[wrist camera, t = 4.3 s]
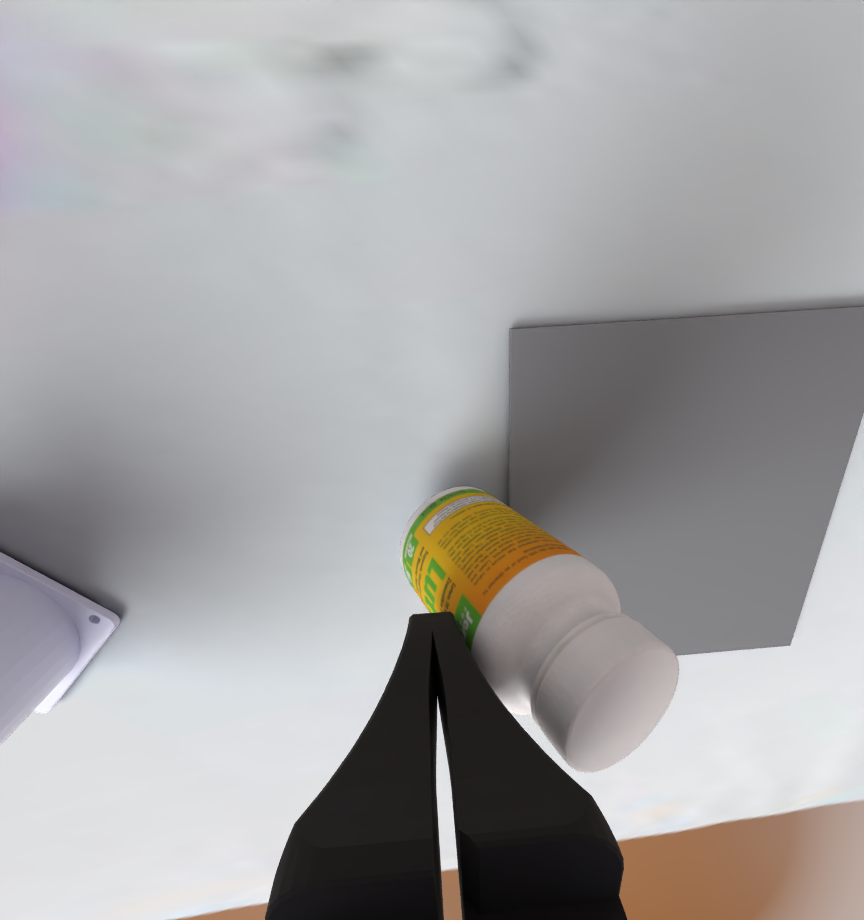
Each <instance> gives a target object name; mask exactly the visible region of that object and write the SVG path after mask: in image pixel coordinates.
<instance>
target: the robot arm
mask: <svg viewBox="0 0 864 920" xmlns="http://www.w3.org/2000/svg"><path fill="white" fill-rule="evenodd" d="M97 616H98V617H97ZM119 623H120V619H119V617H118V616H117V615H116V614H115V613H113V612H111V611H109V610H108V609H106V608H104V607H102V606H100V605H98V604H96V603H95V602H93V601H91V600H89V599H87V598H85V597H83V596H82V595H80V594H78V593H76V592H74V591H72V590H70V589H68V588H67V587H65V586H63V585H61V584H59V583H57V582H55V581H54V580H52V579H50V578H48V577H46V576H44V575H42V574H40V573H39V572H37V571H35V570H33V569H31V568H29V567H27V566H26V565H24V564H22V563H20V562H18V561H16V560H14V559H13V558H11V557H9V556H7V555H5V554H3V553H1V552H0V745H1V744H2V743H3V742H4V741H5V740H6V739H7V738H8V737H9V736H10V735H11V734H12V733H13V732H14V731H15V730H16V728H17V727H18V726H19V725H20V724H21V723H22V722H23V721H24V720H25V719H26V718H27V717H28V716H29V715H30V714H31V713H32V712H33V711H35V712H37V713H42V714H44V713H48V712H50V711H51V710H52V709H53V707H54V706H55V705H56V704H57V703H58V701H59V700H60V699H61V698H62V696H63V695H64V694H65V692H66V691H67V690H68V689H69V687H70V686H71V685H72V684H73V682H74V681H75V680H76V679H77V677H78V676H79V675H80V673H81V672H82V671H83V670H84V668H85V667H86V666H87V665H88V663H89V662H90V661H91V659H92V658H93V657H94V656H95V654H96V653H97V652H98V651H99V649H100V648H101V647H102V645H103V644H104V643H105V642H106V640H107V639H108V638H109V637H110V635H111V634H112V633H113V632H114V630H115V629H116V628H117V626H118V625H119ZM437 696H438V703H439V709H440V715H441V722H442V728H443V734H444V740H445V746H446V753H447V759H448V765H449V772H450V780H451V788H452V799H453V811H454V823H455V835H456V847H457V860H458V872H459V883H460V896H461V908H462V919H463V920H627V917H626V914H625V912H624V909H623V906H622V903H621V900H620V898H619V892H620V887H621V881H622V875H623V870H624V863H623V856H622V854H621V851H620V848H619V846H618V844H617V841H616V839H615V837H614V835H613V833H612V831H611V829H610V827H609V825H608V823H607V821H606V820H605V818H604V816H603V814H602V812H601V811H600V809H599V807H598V806H597V804H596V802H595V800H594V799H593V797H592V796H591V795H590V794H589V793H588V792H587V791H586V790H584V789H583V788H582V787H581V786H580V785H579V784H578V783H577V782H575V781H574V780H573V779H572V778H571V777H570V776H569V775H568V774H567V773H566V772H565V771H563V770H562V769H561V768H560V767H559V766H558V765H557V764H556V763H555V762H554V761H553V760H552V759H551V758H550V757H549V756H548V755H547V754H546V753H545V752H544V751H543V750H542V749H541V747H540V746H539V745H538V744H537V743H536V742H535V741H534V740H533V739H532V738H531V737H530V735H529V734H528V733H527V732H526V731H525V730H524V729H523V728H522V727H521V725H520V724H519V723H518V722H517V721H516V719H515V718H514V717H513V716H512V714H511V713H510V712H509V711H508V709H507V708H506V707H505V705H504V704H503V703H502V702H501V700H500V699H499V697H498V696H497V695H496V693H495V692H494V690H493V689H492V688H491V686H490V685H489V683H488V681H487V680H486V678H485V677H484V675H483V674H482V672H481V671H480V669H479V667H478V666H477V664H476V662H475V660H474V659H473V657H472V655H471V653H470V651H469V650H468V648H467V646H466V644H465V642H464V640H463V638H462V635H461V633H460V631H459V629H458V626H457V624H456V621H455V618H454V614H453V613H452V612H450V611H449V612H437V613H425V614H413V615H412V616H411V617H410V618H409V624H408V629H407V633H406V636H405V640H404V643H403V646H402V649H401V652H400V655H399V657H398V660H397V663H396V665H395V668H394V670H393V673H392V675H391V677H390V680H389V682H388V684H387V686H386V688H385V691H384V693H383V695H382V697H381V699H380V701H379V703H378V705H377V707H376V709H375V711H374V712H373V714H372V716H371V718H370V720H369V721H368V723H367V725H366V727H365V728H364V730H363V732H362V733H361V735H360V736H359V738H358V740H357V741H356V743H355V745H354V746H353V748H352V749H351V751H350V752H349V754H348V755H347V757H346V758H345V759H344V761H343V762H342V764H341V765H340V766H339V768H338V769H337V771H336V772H335V773H334V775H333V776H332V778H331V779H330V780H329V782H328V783H327V784H326V786H325V787H324V788H323V790H322V791H321V792H320V793H319V795H318V796H317V797H316V798H315V800H314V801H313V802H312V803H311V804H310V806H309V807H308V808H307V809H306V810H305V812H304V813H303V814H302V815H301V817H300V818H299V819H298V820H297V821H296V823H295V824H294V826H293V829H292V831H291V833H290V836H289V838H288V841H287V843H286V846H285V848H284V851H283V854H282V856H281V859H280V862H279V866H278V868H277V871H276V875H275V878H274V882H273V886H272V890H271V895H270V899H269V903H268V907H267V912H266V916H265V920H444V916H443V898H442V881H441V864H440V847H439V830H438V812H437V795H436V741H437Z"/></svg>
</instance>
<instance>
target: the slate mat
mask: <svg viewBox="0 0 864 920" xmlns="http://www.w3.org/2000/svg"><path fill="white" fill-rule="evenodd" d="M863 413H864V306H858V307H843V308H827V309H812V310H796V311H781V312H765V313H750V314H734V315H719V316H703V317H688V318H672V319H657V320H641V321H626V322H610V323H595V324H579V325H564V326H548V327H532V328H517V329H509V474H508V507H510V508H511V509H513V510H514V511H516V512H517V513H519V514H520V515H522V516H523V517H525V518H526V519H528V520H529V521H531V522H532V523H533V524H535V525H537V526H538V527H540V528H541V529H543V530H544V531H545V532H547V533H548V534H550V535H551V536H553V537H554V538H556V539H557V540H559V541H560V542H562V543H564V544H565V545H566V546H568V547H570V548H571V549H573V550H574V551H576V552H577V553H579V554H580V555H582V556H583V557H584V558H586V559H587V560H589V561H590V562H591V563H593V564H594V565H595V566H597V567H598V568H599V569H600V570H602V571H603V572H604V573H605V574H606V575H607V577H608V578H609V579H610V580H611V582H612V583H613V585H614V587H615V589H616V591H617V594H618V597H619V601H620V607H621V613H623V614H625V615H627V616H628V617H630V618H631V619H634V620H635V621H637V622H639V623H640V624H641V625H642V626H644V627H645V628H646V629H647V630H648V631H649V632H651V633H652V634H653V635H655V636H656V637H657V638H658V639H660V640H661V641H662V642H664V643H665V644H666V645H667V646H669V647H670V648H671V649H672V650H673V652H674V653H675V655H676V656H677V655H688V654H699V653H711V652H722V651H733V650H745V649H756V648H767V647H779V646H790V644H791V641H792V638H793V635H794V631H795V628H796V625H797V622H798V619H799V616H800V612H801V609H802V606H803V603H804V600H805V597H806V593H807V590H808V587H809V584H810V581H811V578H812V574H813V571H814V568H815V565H816V562H817V559H818V555H819V552H820V549H821V546H822V543H823V540H824V536H825V533H826V530H827V527H828V524H829V520H830V517H831V514H832V511H833V508H834V505H835V501H836V498H837V495H838V492H839V489H840V486H841V482H842V479H843V476H844V473H845V470H846V467H847V463H848V460H849V457H850V454H851V451H852V448H853V444H854V441H855V438H856V435H857V432H858V429H859V425H860V422H861V419H862V416H863Z"/></svg>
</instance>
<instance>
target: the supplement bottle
mask: <svg viewBox="0 0 864 920" xmlns="http://www.w3.org/2000/svg"><path fill="white" fill-rule="evenodd" d="M400 561H401V565H402V569H403V571H404V574H405V576H406V577H407V579H408V581H409V582H410V584H411V586H412V587H413V589H414V590H415V591H416V593H417V594H418V596H419V597H420V599H421V600H422V602H423V603H424V605H425V607H426V608H427V610H428V611H429V613H437V612H449V611H450V612H452V613H453V614H454V618H455V621H456V624H457V626H458V629H459V631H460V633H461V635H462V638H463V640H464V642H465V644H466V646H467V648H468V650H469V651H470V653H471V655H472V657H473V659H474V660H475V662H476V664H477V666H478V667H479V669H480V671H481V672H482V674H483V675H484V677H485V678H486V680H487V681H488V683H489V685H490V686H491V688H492V689H493V690H494V692H495V693H496V695H497V696H498V697H499V699H500V700H501V702H502V703H503V704H504V705H505V707H506V708H507V709H508V711H509V712H511V713H514V714H519V715H532V716H533V719H534V721H535V722H536V724H537V725H538V726H539V727H540V728H541V730H542V732H543V733H544V734H545V736H546V737H547V738H548V740H549V741H550V742H551V744H552V745H553V746H554V748H555V749H556V750H557V752H558V753H559V754H560V755H561V757H562V758H563V759H564V760H565V762H566V763H567V764H568V765H569V766H570V767H571V768H573V769H574V770H576V771H578V772H582V773H593V772H598V771H601V770H604V769H606V768H609V767H611V766H612V765H614V764H616V763H618V762H619V761H621V760H622V759H624V758H625V757H626V756H628V755H629V754H630V753H631V752H633V751H634V750H635V749H636V748H637V747H638V746H639V745H640V744H641V743H642V742H643V741H644V740H645V739H646V738H647V736H648V735H649V734H650V733H651V732H652V730H653V729H654V728H655V727H656V725H657V724H658V722H659V721H660V720H661V718H662V716H663V715H664V713H665V712H666V710H667V708H668V706H669V704H670V702H671V700H672V698H673V695H674V692H675V689H676V686H677V682H678V675H679V664H678V660H677V657H676V655H675V653H674V652H673V650H672V649H671V648H670V647H669V646H667V645H666V644H665V643H664V642H662V641H661V640H660V639H658V638H657V637H656V636H655V635H653V634H652V633H651V632H649V631H648V630H647V629H646V628H645V627H644V626H642V625H641V624H640V623H639V622H637V621H635V620H634V619H631V618H630V617H628V616H627V615H625V614H623V613H621V607H620V601H619V597H618V594H617V591H616V589H615V587H614V585H613V583H612V582H611V580H610V579H609V578H608V577H607V575H606V574H605V573H604V572H603V571H602V570H600V569H599V568H598V567H597V566H595V565H594V564H593V563H591V562H590V561H589V560H587V559H586V558H584V557H583V556H582V555H580V554H579V553H577V552H576V551H574V550H573V549H571V548H570V547H568V546H566V545H565V544H564V543H562V542H560V541H559V540H557V539H556V538H554V537H553V536H551V535H550V534H548V533H547V532H545V531H544V530H543V529H541V528H540V527H538V526H537V525H535V524H533V523H532V522H531V521H529V520H528V519H526V518H525V517H523V516H522V515H520V514H519V513H517V512H516V511H514V510H513V509H511V508H510V507H508V506H507V505H506V504H504V503H503V502H501V501H500V500H498V499H497V498H495V497H494V496H492V495H490V494H489V493H487V492H485V491H483V490H481V489H478V488H475V487H468V486H461V487H454V488H450V489H447V490H444V491H442V492H439V493H438V494H436V495H434V496H432V497H431V498H430V499H428V500H427V501H426V502H424V503H423V504H422V505H421V506H420V507H419V508H418V509H417V510H416V512H415V513H414V514H413V515H412V517H411V518H410V520H409V521H408V523H407V525H406V527H405V530H404V532H403V535H402V538H401V543H400Z"/></svg>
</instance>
